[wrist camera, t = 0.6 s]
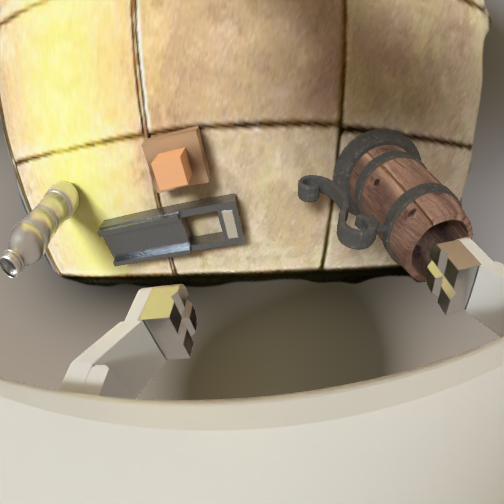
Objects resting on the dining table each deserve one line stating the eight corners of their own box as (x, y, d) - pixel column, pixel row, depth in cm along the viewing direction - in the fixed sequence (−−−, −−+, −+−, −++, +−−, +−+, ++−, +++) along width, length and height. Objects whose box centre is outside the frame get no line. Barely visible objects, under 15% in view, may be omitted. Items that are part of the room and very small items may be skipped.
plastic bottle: (83, 179, 43) (20, 254, 27) (83, 213, 47) (30, 291, 31) (53, 174, 41) (-14, 242, 26) (54, 206, 45) (-2, 279, 30)
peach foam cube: (158, 153, 38) (150, 164, 35) (185, 147, 38) (179, 156, 35) (166, 178, 41) (159, 190, 38) (192, 172, 41) (187, 184, 37)
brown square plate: (147, 138, 40) (141, 144, 37) (198, 125, 39) (195, 130, 37) (162, 184, 45) (157, 193, 42) (210, 174, 44) (208, 182, 42)
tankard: (429, 134, 40) (508, 190, 24) (410, 218, 50) (464, 293, 34) (293, 123, 39) (332, 179, 24) (291, 221, 50) (314, 313, 34)
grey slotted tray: (104, 220, 48) (97, 231, 45) (234, 193, 46) (234, 204, 43) (120, 254, 53) (115, 266, 50) (243, 234, 51) (244, 246, 48)
